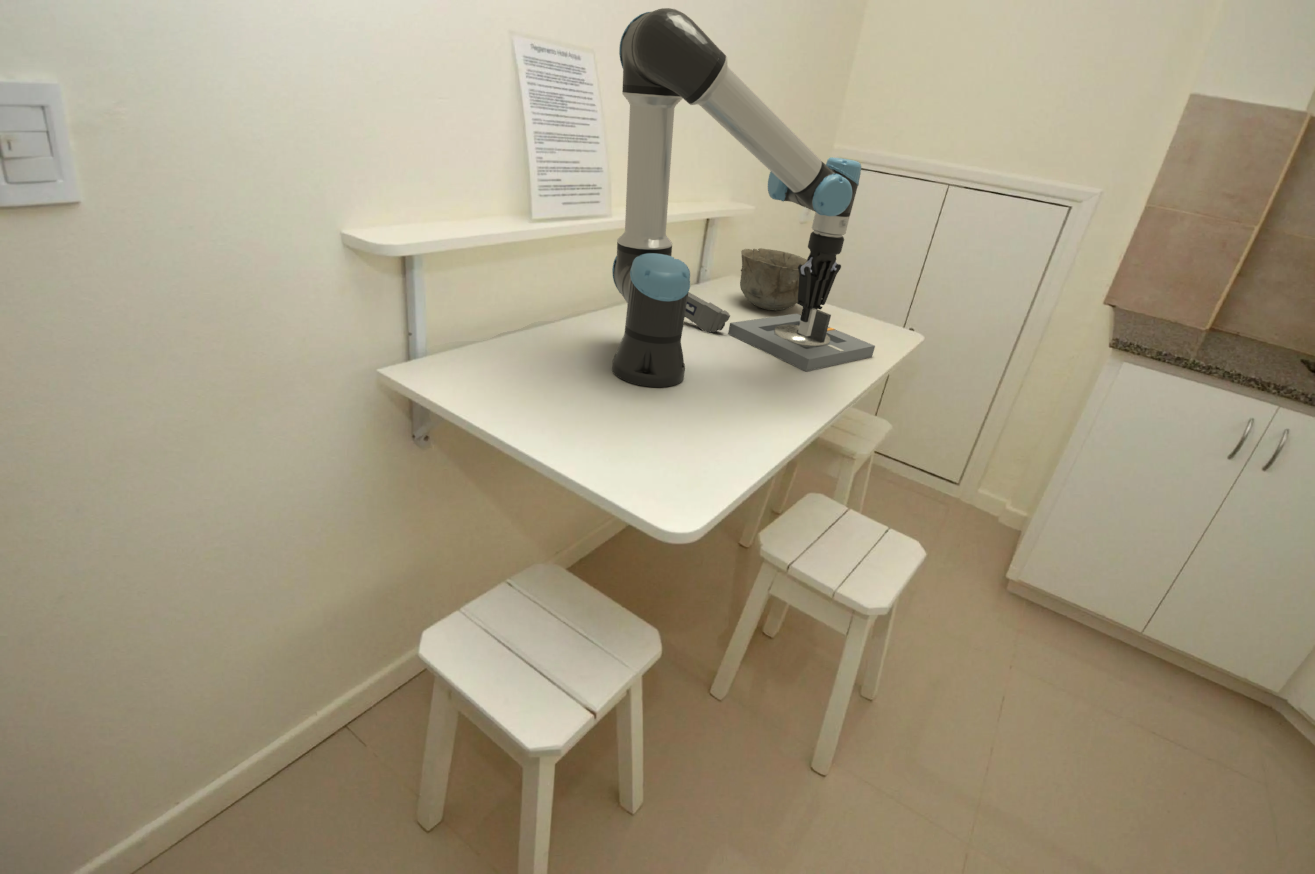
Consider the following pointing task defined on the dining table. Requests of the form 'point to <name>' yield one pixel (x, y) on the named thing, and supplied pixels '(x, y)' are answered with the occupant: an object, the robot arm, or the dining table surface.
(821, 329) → the dial
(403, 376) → the dining table surface
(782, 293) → the bowl
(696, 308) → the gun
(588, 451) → the dining table surface
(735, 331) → the panel
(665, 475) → the dining table surface
